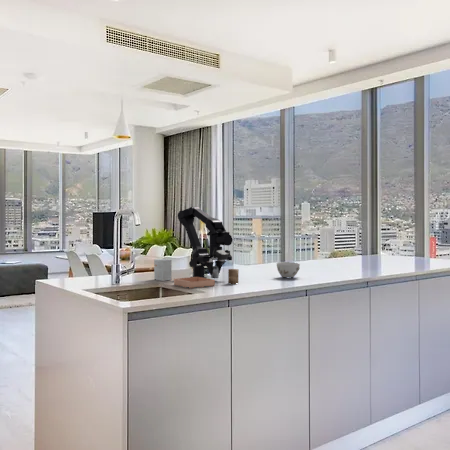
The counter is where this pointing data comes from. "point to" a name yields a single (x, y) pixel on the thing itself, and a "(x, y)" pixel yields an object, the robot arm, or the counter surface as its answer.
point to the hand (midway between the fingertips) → (214, 274)
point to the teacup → (288, 269)
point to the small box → (162, 269)
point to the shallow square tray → (194, 282)
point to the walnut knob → (233, 276)
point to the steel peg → (215, 272)
